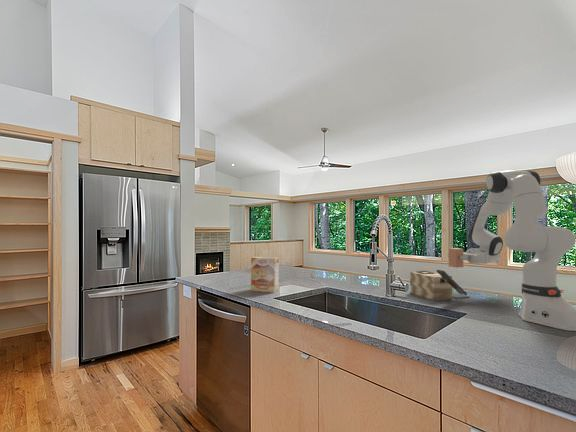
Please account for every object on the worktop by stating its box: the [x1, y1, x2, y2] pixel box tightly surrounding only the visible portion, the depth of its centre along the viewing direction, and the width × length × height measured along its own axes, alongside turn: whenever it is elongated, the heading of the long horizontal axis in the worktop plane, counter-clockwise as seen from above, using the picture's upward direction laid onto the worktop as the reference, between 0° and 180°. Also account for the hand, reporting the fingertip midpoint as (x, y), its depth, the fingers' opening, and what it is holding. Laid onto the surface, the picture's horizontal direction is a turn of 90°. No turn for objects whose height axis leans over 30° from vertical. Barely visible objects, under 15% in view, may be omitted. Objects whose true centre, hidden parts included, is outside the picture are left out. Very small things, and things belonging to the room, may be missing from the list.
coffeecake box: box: [250, 256, 280, 294], centre depth 183 cm, size 15×7×20 cm, turn 71°
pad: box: [452, 292, 470, 300], centre depth 171 cm, size 9×9×1 cm
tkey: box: [436, 269, 468, 296], centre depth 160 cm, size 8×2×19 cm
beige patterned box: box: [409, 270, 453, 301], centre depth 172 cm, size 18×12×13 cm, turn 18°
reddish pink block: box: [448, 247, 464, 268], centre depth 172 cm, size 5×5×10 cm
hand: (454, 256), depth 171 cm, fingers closed on reddish pink block, 5 cm apart
